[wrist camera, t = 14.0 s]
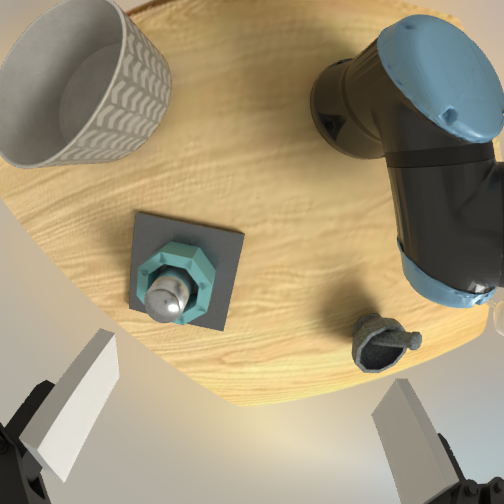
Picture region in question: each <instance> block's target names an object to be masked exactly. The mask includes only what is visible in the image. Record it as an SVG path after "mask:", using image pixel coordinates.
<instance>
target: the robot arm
mask: <svg viewBox="0 0 504 504" xmlns="http://www.w3.org/2000/svg"><path fill="white" fill-rule="evenodd" d="M310 107H311V113H312V117H313V120H314V122H315V125H316V127H317V129H318V130H319V132H320V133H321V135H322V136H323V137H324V139H325V140H326V141H327V142H328V143H329V144H330V145H331V146H333V147H334V148H335V149H337V150H338V151H340V152H341V153H343V154H345V155H348V156H350V157H354V158H358V159H378V158H382V157H385V158H386V162H387V168H388V173H389V178H390V183H391V189H392V195H393V201H394V208H395V215H396V223H397V232H398V235H397V244H398V247H399V250H400V252H401V259H402V267H403V272H404V275H405V277H406V279H407V280H408V281H409V282H410V284H411V286H412V287H413V288H414V289H415V290H416V291H417V292H418V293H419V294H420V295H422V296H423V297H425V298H427V299H428V300H430V301H433V302H435V303H438V304H441V305H444V306H448V307H454V308H470V307H473V305H474V303H476V304H478V305H481V304H483V303H485V302H487V301H488V300H489V299H490V298H491V297H492V296H493V294H494V292H495V291H496V289H497V287H504V162H496V160H495V155H494V148H493V143H492V140H493V138H495V137H496V136H497V135H498V134H499V133H500V132H501V130H502V128H503V126H504V116H503V114H504V93H503V89H502V86H501V83H500V81H499V78H498V76H497V74H496V72H495V70H494V68H493V66H492V65H491V63H490V61H489V60H488V58H487V57H486V55H485V54H484V53H483V52H482V50H481V49H480V48H479V47H478V46H477V44H476V43H475V42H474V41H472V40H471V39H470V38H469V37H468V36H467V35H466V34H465V33H464V32H462V31H461V30H460V29H458V28H457V27H455V26H454V25H452V24H451V23H449V22H447V21H445V20H442V19H440V18H437V17H434V16H429V15H420V14H419V15H411V16H408V17H405V18H403V19H401V20H400V21H398V22H397V23H395V24H393V25H391V26H389V27H387V28H385V29H384V30H383V31H382V32H381V33H380V35H379V37H377V38H376V39H375V40H374V41H373V42H372V43H371V44H370V45H369V46H368V47H367V48H366V49H364V50H363V51H362V52H361V53H360V54H359V55H358V56H357V57H356V58H353V59H345V60H341V61H338V62H335V63H333V64H332V65H330V66H329V67H327V68H326V69H325V70H324V71H323V72H322V73H321V74H320V76H319V77H318V78H317V80H316V81H315V83H314V85H313V88H312V91H311V97H310ZM119 376H120V375H119V368H118V359H117V350H116V339H115V333H112V332H110V331H106V330H104V329H99V331H98V332H97V333H96V334H95V335H94V337H93V338H92V339H91V340H90V342H89V343H88V344H87V345H86V346H85V348H84V349H83V350H82V352H81V353H80V354H79V355H78V356H77V358H76V359H75V360H74V362H73V363H72V364H71V365H70V367H69V368H68V369H67V371H66V372H65V373H64V374H63V376H62V377H61V378H60V380H59V381H58V382H57V384H56V385H55V384H53V383H51V382H49V381H48V380H45V381H43V382H42V383H40V384H38V385H36V387H35V388H34V389H33V390H32V392H31V393H30V395H29V396H28V397H27V398H26V399H25V401H24V403H22V405H21V406H20V408H19V409H18V410H17V412H16V413H15V414H14V416H13V417H12V419H11V420H10V421H9V423H8V424H7V425H6V427H5V428H4V427H3V425H2V424H1V423H0V504H51V502H50V499H49V497H48V494H47V491H46V488H45V485H44V483H43V479H42V476H41V474H40V471H41V470H42V468H43V469H44V470H45V471H46V472H47V473H48V474H49V475H51V476H53V477H55V478H56V479H58V480H60V481H62V482H64V483H65V480H66V478H67V476H68V474H69V472H70V470H71V468H72V466H73V464H74V462H75V460H76V457H77V455H78V453H79V451H80V449H81V447H82V445H83V443H84V441H85V440H86V438H87V436H88V434H89V431H90V430H91V428H92V426H93V424H94V422H95V420H96V418H97V417H98V415H99V413H100V411H101V409H102V407H103V405H104V404H105V402H106V400H107V398H108V396H109V394H110V393H111V391H112V389H113V387H114V386H115V384H116V382H117V380H118V378H119ZM372 417H373V420H374V422H375V425H376V428H377V431H378V434H379V436H380V439H381V442H382V445H383V448H384V451H385V454H386V457H387V460H388V463H389V466H390V468H391V472H392V475H393V478H394V481H395V484H396V487H397V491H398V494H399V497H400V500H401V504H504V480H503V479H502V478H501V477H494V478H493V479H492V480H491V481H490V482H488V483H486V484H477V483H476V482H475V481H474V480H470V479H468V480H466V479H465V477H464V476H463V473H462V471H461V469H460V467H459V465H458V463H457V461H456V459H455V456H453V452H452V450H450V446H449V444H448V442H447V440H446V439H445V438H444V437H443V436H442V435H441V434H440V433H438V434H437V433H436V431H435V429H434V427H433V425H432V423H431V421H430V419H429V417H428V415H427V413H426V412H425V410H424V408H423V406H422V404H421V402H420V401H419V399H418V397H417V395H416V393H415V392H414V390H413V388H412V386H411V384H410V383H409V381H408V379H395V381H394V382H393V384H392V386H391V387H390V389H389V390H388V392H387V393H386V394H385V396H384V397H383V399H382V400H381V402H380V403H379V405H378V406H377V407H376V409H375V410H374V412H373V413H372Z"/></svg>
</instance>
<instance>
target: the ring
mask: <svg viewBox="0 0 504 504" xmlns="http://www.w3.org/2000/svg"><path fill="white" fill-rule="evenodd" d="M163 264H167V265H172V266H176V267H181V268H185V269H186V270H187V271H188V272H189V274H190V275H191V276H192V278H193V279H194V280H195V282H196V283H197V284H198V286H199V291H198V293H196V294H194V295H192V296H191V297H189V299H188V301H187V303H186V306H185V308H184V310H183V313H182V315H181V316H180V318H178V319H177V320H176V321H173V322H172V323H176V324H181V325H184V324H186V323H188V322H190V321H191V320H193V319H195V318H197V317H199V316H200V315H202V314H204V313H206V312H207V309H208V305H209V302H210V298H211V293H212V288H213V282H214V277H215V272H216V270H215V269H214V267H213V266H212V264H211V263H210V262H209V260H208V259H207V257H206V256H205V255H204V253H203V252H202V250H201V249H200V248H199V247H196V246H191V245H187V244H182V243H177V242H173V241H171V242H169V243H168V244H166V245H165V246H164V247H162V248H161V249H159V250H158V251H157V252H155V253H154V254H152V255H151V256H150V257H149V258H148V259H147V260H146V261H145V262H144V263H143V264H142V265H140V266H139V267H138V279H137V296H138V298H139V299H140V300H141V302H142V303H143V304H144V296H145V294H146V292H147V291H148V289H149V288H150V287H151V285H152V284H153V283H154V281H155V280H156V279H157V278H158V269H159V267H160V266H162V265H163Z"/></svg>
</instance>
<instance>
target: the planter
mask: <svg viewBox="0 0 504 504" xmlns="http://www.w3.org/2000/svg"><path fill="white" fill-rule="evenodd" d="M170 95H171V74H170V69H169V66H168V64H167V62H166V60H165V58H164V57H163V55H162V54H161V53H160V52H159V51H158V49H157V48H156V47H155V46H154V45H153V44H152V42H151V41H150V40H149V39H148V38H147V37H146V36H145V34H144V33H143V32H142V31H141V30H140V29H139V28H138V27H137V25H136V24H135V23H134V22H133V21H132V20H131V19H130V18H129V17H128V16H127V14H126V13H125V12H124V11H123V10H122V9H121V8H120V7H119V6H118V5H117V4H116V3H115V2H114V1H112V0H65V1H63V2H61V3H59V4H57V5H55V6H54V7H52V8H50V9H49V10H47V11H46V12H45V13H43V14H42V15H41V16H40V17H38V18H37V19H36V20H35V21H34V22H33V23H32V24H31V25H30V26H29V27H28V28H27V29H26V30H25V31H24V32H23V33H22V35H21V36H20V37H19V38H18V40H17V41H16V43H15V44H14V45H13V47H12V48H11V50H10V51H9V53H8V55H7V57H6V58H5V60H4V62H3V64H2V66H1V69H0V155H1V156H2V158H3V159H4V160H5V161H7V162H8V163H9V164H11V165H13V166H15V167H18V168H23V169H33V168H42V167H52V166H64V165H77V164H96V163H108V162H113V161H116V160H119V159H121V158H124V157H126V156H128V155H129V154H131V153H132V152H134V151H135V150H137V149H138V148H139V147H141V146H142V145H143V144H144V143H145V142H146V141H147V140H148V139H149V138H150V137H151V135H152V134H153V133H154V132H155V130H156V129H157V127H158V126H159V124H160V122H161V121H162V119H163V117H164V115H165V112H166V110H167V107H168V104H169V100H170Z"/></svg>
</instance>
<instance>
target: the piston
mask: <svg viewBox="0 0 504 504" xmlns="http://www.w3.org/2000/svg"><path fill="white" fill-rule="evenodd" d="M244 236H245V234H243V233H238V232H234V231H229V230H224V229H220V228H215V227H210V226H206V225H201V224H196V223H191V222H186V221H181V220H177V219H172V218H167V217H162V216H157V215H152V214H147V213H142V212H137V213H136V217H135V225H134V235H133V246H132V258H131V274H130V300H129V309H133V310H136V311H140V312H143V313H147V314H148V315H149V316H150V317H151V318H152V319H154V320H155V321H157V322H160V323H169V322H173V321H176V320H177V319H178V318H180V316H181V315H182V313H183V310H184V308H185V306H186V303H187V301H188V299H189V297H191V296H192V295H194V294H196V293H198V291H199V286H198V284H197V283H196V282H195V280H194V279H193V278H192V276H191V275H190V274H189V272H188V271H187V270H186V269H185V268H181V267H176V266H172V265H167V264H163V265H162V266H160V267H159V269H158V278H157V279H156V280H155V281H154V283H153V284H152V285H151V287H150V288H149V289H148V291H147V292H146V294H145V296H144V304H143V303H142V302H141V300H140V299H139V298H138V296H137V279H138V267H139V266H140V265H142V264H143V263H144V262H145V261H146V260H147V259H148V258H149V257H150V256H151V255H152V254H154V253H155V252H157V251H158V250H159V249H161V248H162V247H164V246H165V245H166V244H168V243H169V242H171V241H173V242H177V243H182V244H187V245H191V246H196V247H199V248H200V249H201V250H202V252H203V253H204V255H205V256H206V257H207V259H208V260H209V262H210V263H211V264H212V266H213V267H214V269H215V270H216V272H215V277H214V282H213V288H212V293H211V298H210V302H209V305H208V309H207V312H206V313H204V314H202V315H200V316H199V317H197V318H195V319H193V320H191V321H190V322H188V323H187V324H191V325H196V326H200V327H205V328H210V329H214V330H219V331H224V326H225V321H226V317H227V312H228V308H229V303H230V299H231V294H232V289H233V285H234V280H235V276H236V271H237V267H238V262H239V258H240V253H241V249H242V245H243V240H244Z"/></svg>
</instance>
